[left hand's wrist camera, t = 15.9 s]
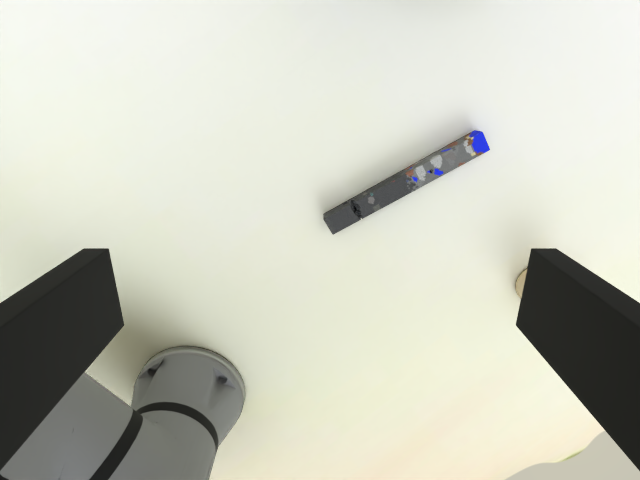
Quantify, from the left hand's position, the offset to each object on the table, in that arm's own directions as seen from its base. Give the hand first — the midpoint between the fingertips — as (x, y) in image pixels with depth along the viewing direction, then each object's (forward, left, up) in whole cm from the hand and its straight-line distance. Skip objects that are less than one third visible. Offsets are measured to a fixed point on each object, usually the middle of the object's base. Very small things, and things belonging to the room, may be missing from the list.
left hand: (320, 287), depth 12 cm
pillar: (-3, -10, -35) cm, 36 cm away
